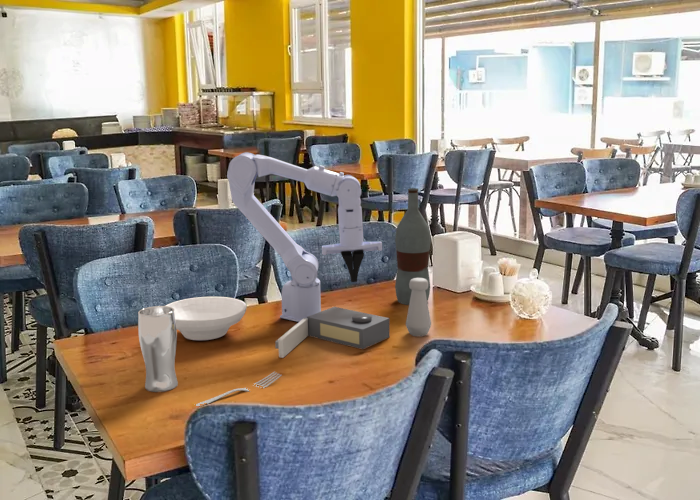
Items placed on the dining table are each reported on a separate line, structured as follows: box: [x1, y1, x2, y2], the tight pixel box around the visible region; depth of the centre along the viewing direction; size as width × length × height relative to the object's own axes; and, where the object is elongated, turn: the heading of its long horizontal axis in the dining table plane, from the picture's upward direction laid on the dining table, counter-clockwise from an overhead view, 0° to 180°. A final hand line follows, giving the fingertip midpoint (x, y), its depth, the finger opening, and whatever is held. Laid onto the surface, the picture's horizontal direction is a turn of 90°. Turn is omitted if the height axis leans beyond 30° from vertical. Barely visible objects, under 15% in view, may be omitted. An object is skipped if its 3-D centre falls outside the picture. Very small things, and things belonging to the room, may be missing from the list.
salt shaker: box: [405, 278, 432, 337], centre depth 169 cm, size 6×6×13 cm
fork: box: [196, 371, 283, 406], centre depth 136 cm, size 3×24×2 cm, turn 132°
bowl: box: [165, 296, 247, 341], centre depth 170 cm, size 20×20×7 cm
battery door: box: [274, 318, 309, 359], centre depth 162 cm, size 16×2×4 cm, turn 163°
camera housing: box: [307, 306, 390, 350], centre depth 168 cm, size 16×10×5 cm, turn 52°
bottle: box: [394, 187, 432, 306], centre depth 194 cm, size 9×9×30 cm
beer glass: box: [137, 305, 179, 393], centre depth 140 cm, size 7×7×15 cm
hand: (353, 281), depth 181 cm, fingers closed
